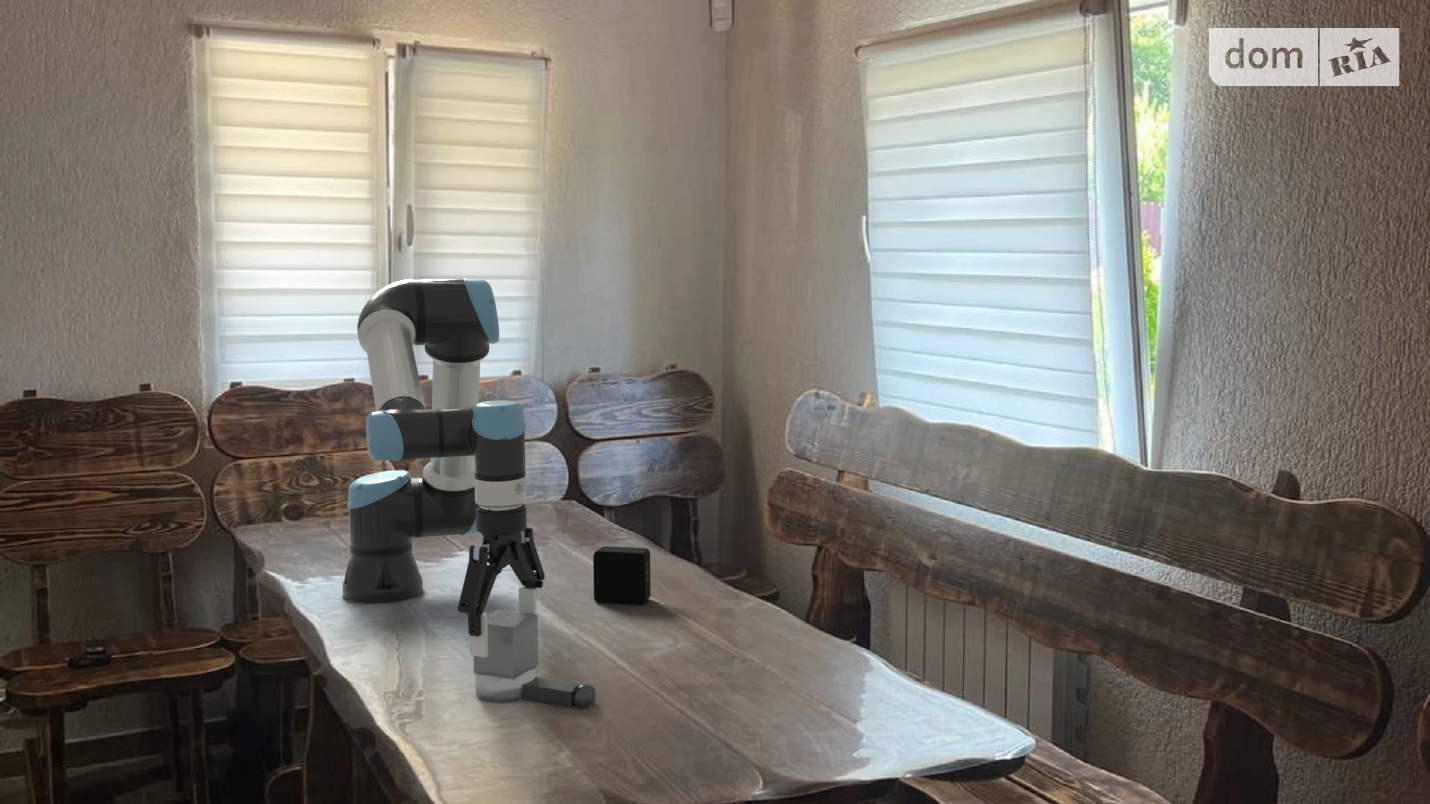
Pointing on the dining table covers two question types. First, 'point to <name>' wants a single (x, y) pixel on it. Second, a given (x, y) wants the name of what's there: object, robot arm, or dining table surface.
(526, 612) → the robot arm
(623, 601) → the electronic device
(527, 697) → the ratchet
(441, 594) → the dining table surface
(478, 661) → the dark grey cube
